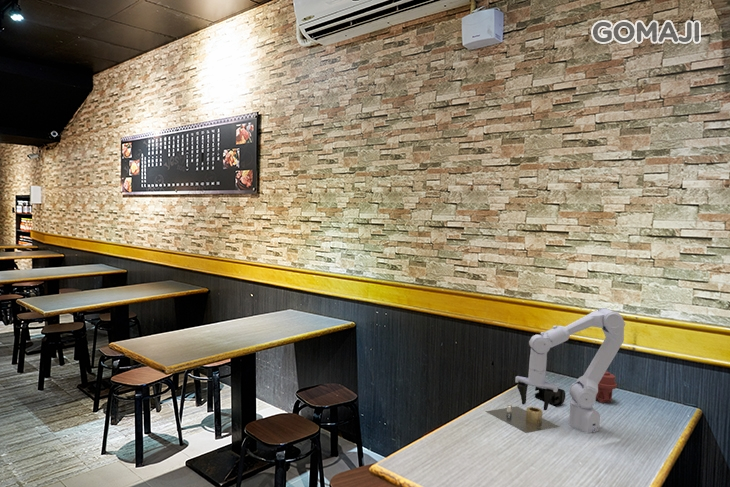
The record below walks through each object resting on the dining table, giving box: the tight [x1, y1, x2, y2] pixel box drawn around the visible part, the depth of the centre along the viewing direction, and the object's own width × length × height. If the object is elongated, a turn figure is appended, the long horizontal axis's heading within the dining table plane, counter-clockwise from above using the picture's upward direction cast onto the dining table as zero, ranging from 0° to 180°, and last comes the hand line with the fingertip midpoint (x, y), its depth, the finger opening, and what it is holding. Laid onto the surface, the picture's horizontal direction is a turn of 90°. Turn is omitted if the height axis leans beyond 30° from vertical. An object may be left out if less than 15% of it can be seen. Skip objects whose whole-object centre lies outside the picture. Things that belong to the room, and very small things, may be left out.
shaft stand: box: [485, 404, 560, 434], centre depth 174 cm, size 20×16×6 cm
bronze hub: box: [526, 406, 543, 424], centre depth 173 cm, size 5×5×4 cm
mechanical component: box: [596, 370, 618, 404], centre depth 204 cm, size 12×10×10 cm
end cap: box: [534, 386, 566, 408], centre depth 198 cm, size 10×7×7 cm
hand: (534, 406), depth 173 cm, fingers open, 7 cm apart
